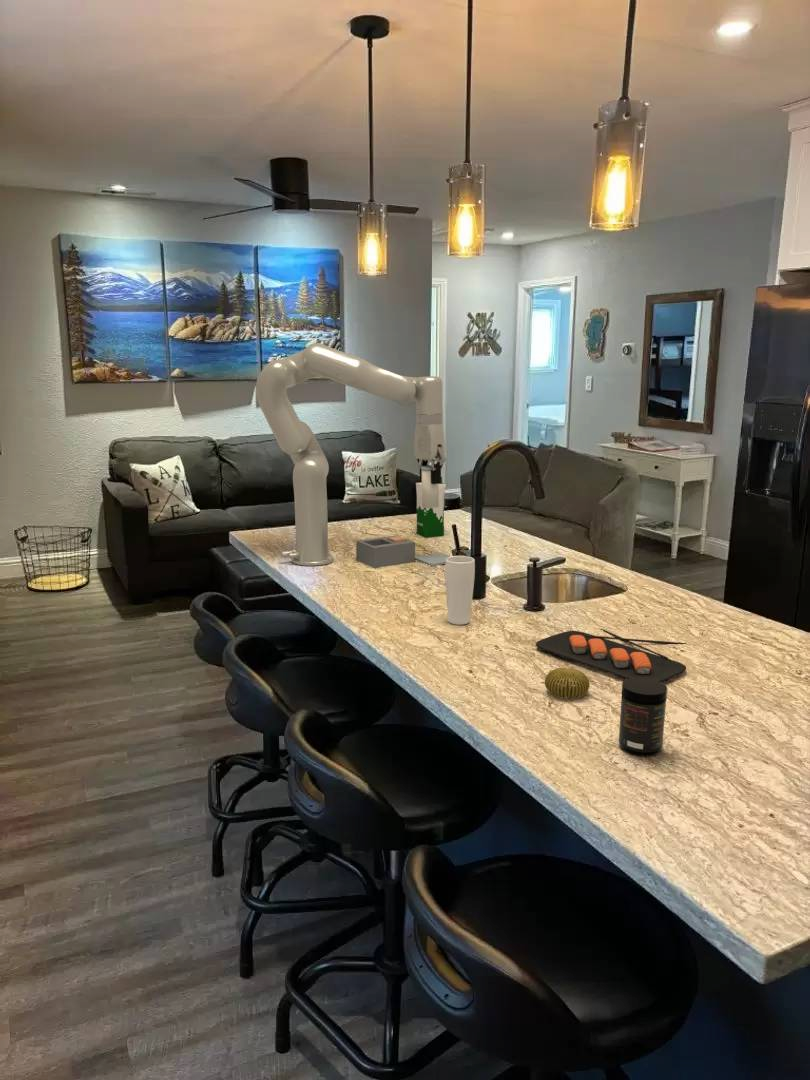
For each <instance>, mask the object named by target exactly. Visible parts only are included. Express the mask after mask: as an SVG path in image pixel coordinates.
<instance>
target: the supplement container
mask: <svg viewBox="0 0 810 1080" xmlns="http://www.w3.org/2000/svg"><path fill="white" fill-rule="evenodd" d="M621 684H622V685H621V700H620V714H619V716H620V717H619V730H618V744H619V746H620V748H621V749H622V750H623V751H625V752H626V753H628V754H631V755H634V756H638V757H652V756H656V755H657V754H659V753H660V752H661V751H662V749H663V743H664V731H665V719H666V708H667V705H666V703H667V699H668V697H667V696H668V686H667V685H666V684H665V683H663V682H659V681H657V680H654V679H649V678H629V679H624V680H623V681H622V683H621Z"/></svg>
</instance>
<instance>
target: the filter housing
mask: <svg viewBox="0 0 810 1080" xmlns="http://www.w3.org/2000/svg"><path fill="white" fill-rule="evenodd" d="M396 536H398V535H397V534H396V535H389V536H384V537H383V536H381V537H373V538H366V539H358V540H355V543H356V544H355V545H356V547H355V548H356V549H355V551H356V552H355V553H356V556H355V557H356V561H358V562H360V563H361V564H362V563H363V564H364V565H367V566H369V567H371V568H373V569H377V568H383V567H389V566H396V565H402V564H409V563H415V562H416V560H415V557H416V542H415V541H413V540H410V539H407V538H406V541H400V542H392V541H390V540H388V537H396Z"/></svg>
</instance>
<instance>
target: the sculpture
mask: <svg viewBox="0 0 810 1080" xmlns="http://www.w3.org/2000/svg"><path fill="white" fill-rule="evenodd" d="M544 685H545V689H547V691H548V693H550V694H551V695H553V696H555V697H557V698H560V699H561V698H562V699H566V700H569V699H570V700H574V699H579V698H581V697H583V696H585V695H586V694H587V693H588V691H589V689H590V679H589V678H588V676H587V675H586V674H585V673H584V672H582V670H578V669H576V668H571V667H559V668H554V669H552V670H550V671H549V672H548V673H547V674H546V676H545V679H544Z"/></svg>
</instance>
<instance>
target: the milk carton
mask: <svg viewBox="0 0 810 1080" xmlns="http://www.w3.org/2000/svg"><path fill="white" fill-rule="evenodd" d="M446 488H447V484H445V483H443V477H442V476H441V483H439V507H437V508H423V507H422V482H415V490H416V535H418V536H421V537H422V538H425V539H429V538H439V537H445V493H446V492H445V491H446Z"/></svg>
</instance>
